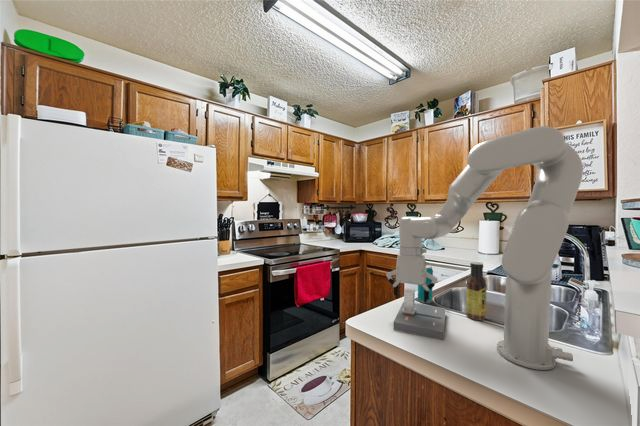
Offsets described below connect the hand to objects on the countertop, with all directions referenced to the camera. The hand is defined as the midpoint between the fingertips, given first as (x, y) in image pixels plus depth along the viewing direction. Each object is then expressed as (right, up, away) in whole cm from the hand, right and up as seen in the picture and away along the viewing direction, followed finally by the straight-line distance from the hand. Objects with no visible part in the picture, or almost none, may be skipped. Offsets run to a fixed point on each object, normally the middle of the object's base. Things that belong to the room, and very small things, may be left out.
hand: (411, 299), depth 93 cm
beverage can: (+12, -7, +18) cm, 23 cm away
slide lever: (-1, -5, +1) cm, 5 cm away
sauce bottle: (+25, -8, +3) cm, 26 cm away
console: (+3, -8, -1) cm, 8 cm away
